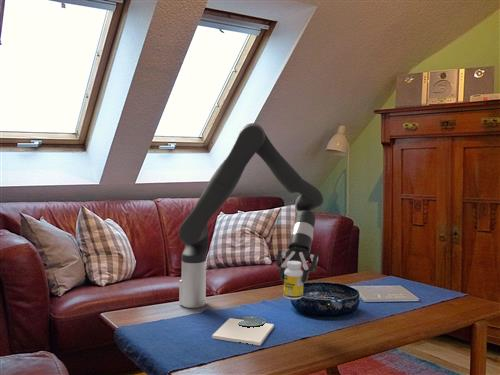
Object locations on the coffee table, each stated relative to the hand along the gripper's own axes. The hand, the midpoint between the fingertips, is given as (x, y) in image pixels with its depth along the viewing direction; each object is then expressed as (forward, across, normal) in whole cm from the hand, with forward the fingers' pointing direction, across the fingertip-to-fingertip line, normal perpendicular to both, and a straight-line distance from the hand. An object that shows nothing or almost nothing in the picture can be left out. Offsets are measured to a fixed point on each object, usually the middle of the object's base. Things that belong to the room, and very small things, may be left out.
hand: (292, 280), depth 159 cm
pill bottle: (+3, 0, +6) cm, 6 cm away
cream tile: (+16, -15, +10) cm, 24 cm away
